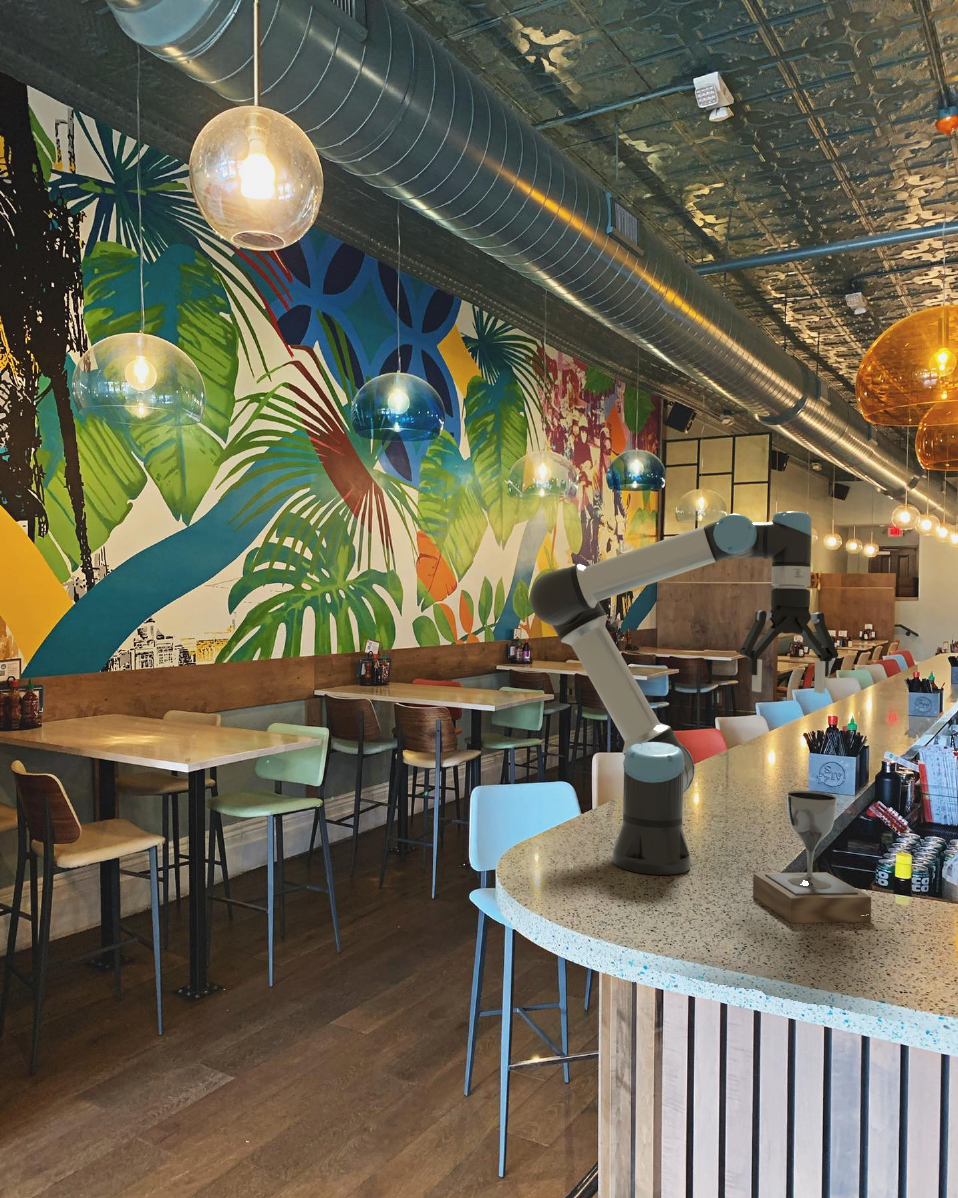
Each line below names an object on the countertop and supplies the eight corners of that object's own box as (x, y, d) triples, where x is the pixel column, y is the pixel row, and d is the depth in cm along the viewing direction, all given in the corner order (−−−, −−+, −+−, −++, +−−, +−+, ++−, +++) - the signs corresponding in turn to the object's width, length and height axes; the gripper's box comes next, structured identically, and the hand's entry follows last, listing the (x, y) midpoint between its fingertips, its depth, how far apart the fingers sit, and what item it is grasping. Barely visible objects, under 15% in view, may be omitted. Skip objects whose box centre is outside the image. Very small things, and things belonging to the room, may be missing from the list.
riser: (790, 923, 145) (791, 896, 145) (752, 895, 159) (753, 871, 159) (870, 921, 147) (871, 895, 147) (826, 894, 161) (826, 870, 161)
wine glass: (822, 876, 157) (824, 791, 157) (842, 890, 149) (844, 800, 149) (778, 875, 157) (780, 790, 157) (795, 889, 149) (797, 799, 149)
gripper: (740, 585, 176) (737, 692, 176) (857, 589, 180) (855, 695, 179) (724, 586, 184) (722, 689, 183) (837, 590, 187) (835, 691, 187)
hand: (788, 692), depth 181 cm, fingers open, 13 cm apart
